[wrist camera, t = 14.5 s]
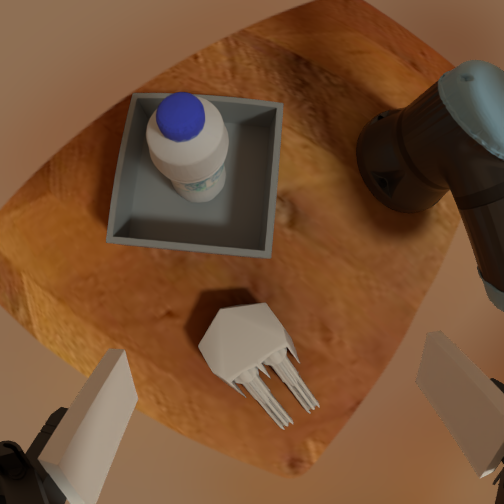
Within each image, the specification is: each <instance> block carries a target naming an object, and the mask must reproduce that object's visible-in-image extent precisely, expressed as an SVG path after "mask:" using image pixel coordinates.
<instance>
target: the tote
mask: <svg viewBox="0 0 504 504" xmlns="http://www.w3.org/2000/svg"><path fill="white" fill-rule="evenodd" d="M171 94H172V93H133V95H132V98H131V102H130V106H129V110H128V115H127V119H126V123H125V128H124V132H123V137H122V142H121V146H120V152H119V157H118V162H117V168H116V173H115V179H114V185H113V192H112V198H111V205H110V213H109V221H108V229H107V238H106V243H113V244H120V245H128V246H138V247H148V248H159V249H169V250H179V251H189V252H200V253H210V254H221V255H231V256H242V257H252V258H271V252H272V241H273V230H274V218H275V206H276V194H277V182H278V170H279V157H280V144H281V131H282V117H283V103H278V102H270V101H263V100H254V99H245V98H236V97H225V96H212V95H196V94H193V95H194V96H197V97H201V98H203V99H206V100H208V101H209V102H211V103H212V104H213V105H214V106H215V107H216V108H217V109H218V111H219V112H220V114H221V116H222V119H223V122H224V125H225V127H226V129H227V132H228V138H229V145H228V150H227V155H226V158H225V161H224V166H225V172H226V178H225V184H224V186H223V188H222V190H221V191H220V192H219V194H218V195H217V196H216V197H215V198H213V199H212V200H210V201H208V202H201V203H192V202H189V201H187V200H185V199H184V198H182V197H181V196H180V195H179V194H178V193H177V192H176V190H175V188H174V187H173V184H172V182H171V180H170V179H169V178H167V177H166V176H165V175H164V174H162V173H161V172H160V171H159V170H158V169H157V167H156V166H155V165H154V163H153V161H152V159H151V156H150V152H149V146H148V143H147V138H146V131H147V125H148V122H149V120H150V118H151V116H152V114H153V113H154V112H155V110H156V109H157V108H158V106H159V105H160V103H161V102H162V100H163V99H165V98H166V97H167V96H169V95H171Z"/></svg>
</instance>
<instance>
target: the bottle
mask: <svg viewBox="0 0 504 504" xmlns="http://www.w3.org/2000/svg"><path fill="white" fill-rule="evenodd" d="M146 138H147V143H148V146H149V152H150V156H151V159H152V161H153V163H154V165H155V166H156V167H157V169H158V170H159V171H160V172H161V173H162V174H164V175H165V176H166V177H167V178H169V179H170V180H171V182H172V184H173V187H174V188H175V190H176V192H177V193H178V194H179V195H180V196H181V197H182V198H184V199H185V200H187V201H189V202H192V203H201V202H208V201H210V200H212V199H213V198H215V197H216V196H217V195H218V194H219V192H220V191H221V190H222V188H223V186H224V184H225V178H226V172H225V166H224V161H225V158H226V155H227V150H228V145H229V138H228V132H227V129H226V127H225V125H224V122H223V119H222V116H221V114H220V112H219V111H218V109H217V108H216V107H215V106H214V105H213V104H212V103H211V102H209V101H208V100H206V99H203V98H201V97H197V96H194V95H193V94H190V93H186V92H178V93H174V94H171V95H169V96H167V97H166V98H165V99H163V100H162V102H161V103H160V105H159V106H158V108H157V109H156V110H155V112H154V113H153V114H152V116H151V118H150V120H149V122H148V125H147V131H146Z"/></svg>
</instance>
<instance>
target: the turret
mask: <svg viewBox="0 0 504 504" xmlns="http://www.w3.org/2000/svg"><path fill="white" fill-rule="evenodd" d="M198 347H199V349H200V351H201V353H202V355H203V356H204V358H205V360H206V362H207V363H208V365H209V367H210V369H211V371H212V372H213V373H214V374H215V375H216V376H218V377H219V378H220V379H221V380H222V381H224V382H225V383H226V384H228V385H229V386H230V387H232V388H233V389H235V390H236V391H237V392H239V393H240V394H242V395H243V396H244V397H246V396H245V395H244V394H243V393H242V391H241V390H240V389H239V387H238V386H237V385H236V384H235V382H236V383H240V384H243V385H244V387H245V388H246V389H247V390H248V392H249V393H250V394H251V395H252V396H253V398H254V399H255V400H257V401H258V402H259V403H260V405H261V406H262V407H263V408H264V409H265V411H266V412H267V413H268V414H269V415H270V416H271V418H272V419H273V420H274V421H275V422H276V423H277V425H278V426H279V427H280V428H282V429H283V430H284V428H283V426H284V425H285V426H288V423H289V422H291V423H292V424H293V421H292V419H291V417H290V416H289V415H288V414H287V412H286V411H285V410H284V409H283V407H282V406H281V405H280V404H279V402H278V401H277V400H276V399H275V397H274V396H273V395H272V394H271V392H270V390H269V388H268V387H267V386H266V384H265V383H264V382H263V381H262V379H261V378H260V377H259V373H258V368H259V369H260V370H261V371H262V372H264V373H265V374H266V375H267V376H268V377H269V378H270V376H269V374H268V372H267V371H266V369H265V367H264V365H263V363H264V364H265V365H271V366H272V368H273V369H274V371H275V372H276V373H277V375H278V376H279V377H280V379H281V380H282V381H283V382H285V384H286V385H287V386H288V388H289V389H290V390H291V392H292V393H293V394H294V396H295V397H296V398H297V400H298V401H299V402H300V404H301V405H302V406H303V408H304V409H305V410H306V411H307V412H308V413H310V411H309V409H310V408H311V409H313V410H314V409H315V407H314V406H315V405H317V406H318V407H320V406H319V403H318V401H317V400H316V399H315V397H314V396H313V394H312V393H311V392H310V390H309V389H308V387H307V386H306V385H305V383H304V382H303V380H302V379H301V377H300V376H299V375H298V372H297V370H296V369H295V367H294V366H293V365H292V363H291V362H290V360H289V359H288V357H287V356H286V353H287V348H286V347H288V349H289V350H290V351H291V353H292V354H293V355H294V357H295V358H296V359H297V361H298V362H299V359H298V356H297V353H296V350H295V347H294V344H293V342H292V339H291V337H290V336H289V334H288V333H287V331H286V330H285V329H284V327H283V326H282V324H281V323H280V322H279V320H278V319H277V318H276V316H275V315H274V314H273V312H272V311H271V309H270V308H269V307H268V305H267V304H266V303H256V304H243V305H236V306H230V307H225V308H220V309H219V311H218V312H217V314H216V316H215V317H214V319H213V321H212V322H211V324H210V326H209V328H208V329H207V331H206V333H205V335H204V337H203V338H202V340H201V342H200V344H199V345H198ZM262 362H263V363H262ZM299 363H300V362H299ZM270 379H271V378H270ZM233 380H234V381H235V382H234V381H233ZM307 395H308V396H309V397H308V396H307ZM305 402H306V403H305ZM266 404H267V405H266ZM314 404H315V405H314ZM276 407H277V408H276ZM280 421H281V422H282V423H281V422H280ZM283 424H284V425H283Z"/></svg>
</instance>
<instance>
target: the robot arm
mask: <svg viewBox="0 0 504 504" xmlns="http://www.w3.org/2000/svg"><path fill="white" fill-rule="evenodd" d="M357 162H358V167H359V170H360V173H361V176H362V178H363V180H364V182H365V184H366V185H367V187H368V188H369V190H370V191H371V192H372V194H373V195H374V196H375V197H376V198H377V199H378V200H379V201H380V202H382V203H383V204H384V205H386V206H387V207H389V208H391V209H393V210H396V211H399V212H404V213H413V212H418V211H422V210H426V209H428V208H430V207H432V206H434V205H435V204H436V203H437V202H438V201H439V200H440V199H441V198H442V197H443V196H444V195H445V194H446V193H447V192H448V191H449V190H451V192H452V195H453V197H454V200H455V202H456V204H457V207H458V210H459V213H460V215H461V218H462V220H463V223H464V226H465V229H466V231H467V234H468V237H469V240H470V243H471V246H472V249H473V252H474V255H475V258H476V262H477V265H478V266H477V269H478V273H479V276H480V278H481V279H482V281H483V283H484V286H485V290H486V293H487V296H488V298H489V299H490V301H491V302H492V303H493V304H494V305H495V306H496V307H497V308H498V309H500V310H501V311H503V312H504V71H503V70H501V69H500V68H498V67H497V66H495V65H493V64H491V63H488V62H485V61H481V60H470V61H466V62H464V63H462V64H460V65H459V66H457V67H456V68H454V69H453V70H452V71H448V72H446V73H444V74H443V76H441V77H440V79H439V80H438V81H437V82H436V83H435V84H433V85H432V86H431V87H430V88H429V89H427V90H426V91H425V92H424V93H423V94H421V95H420V96H419V97H418V98H417V99H415V100H414V101H413V102H412V103H411V104H410V105H408V106H407V107H405V108H399V109H394V110H389V111H385V112H382V113H380V114H378V115H377V116H375V117H374V118H373V119H372V120H371V121H370V122H369V123H368V124H367V125H366V126H365V127H364V128H363V130H362V131H361V133H360V136H359V139H358V143H357ZM416 383H417V385H418V386H419V388H420V389H421V391H422V392H423V393H424V394H425V396H426V398H427V399H428V400H429V402H430V403H431V405H432V406H433V408H434V409H435V411H436V412H437V414H438V415H439V417H440V418H441V419H442V421H443V423H444V424H445V426H446V427H447V429H448V430H449V432H450V433H451V435H452V436H453V438H454V439H455V441H456V442H457V444H458V445H459V447H460V448H461V450H462V452H463V453H464V455H465V456H466V458H467V459H468V461H469V463H470V464H471V466H472V467H473V469H474V470H475V472H476V474H477V475H478V477H479V478H482V477H484V476H486V475H488V474H490V473H492V472H494V471H495V469H496V468H497V467H498V465H499V464H500V462H501V461H502V462H503V464H504V384H503V383H501V382H499V381H497V380H496V379H494V378H491V379H489V378H488V377H487V376H486V375H485V374H484V373H483V372H482V371H481V370H480V369H479V368H478V367H477V366H476V365H475V364H474V363H473V362H472V361H471V360H470V359H469V358H468V357H467V356H466V355H465V354H464V353H463V352H462V351H461V350H460V349H459V348H458V347H457V346H456V345H455V344H454V343H453V342H452V341H451V340H450V339H449V338H448V337H447V336H446V335H445V334H444V333H443V332H441V331H437V332H430V333H427V337H426V342H425V346H424V350H423V354H422V359H421V363H420V367H419V370H418V375H417V378H416ZM137 400H138V397H137V393H136V390H135V386H134V383H133V379H132V376H131V372H130V368H129V364H128V360H127V356H126V352H125V350H124V349H108V351H107V352H106V354H105V355H104V357H103V358H102V359H101V361H100V362H99V364H98V365H97V367H96V368H95V370H94V371H93V373H92V374H91V376H90V377H89V379H88V380H87V382H86V383H85V385H84V386H83V387H82V389H81V391H80V392H79V394H78V395H77V397H76V398H75V400H74V401H73V403H72V404H71V406H70V407H69V408H63V407H60V408H59V409H58V410H56V411H55V412H54V413H52V414H51V416H50V417H49V418H48V420H47V422H46V423H45V425H44V426H43V427H42V429H41V432H40V433H38V435H37V437H36V438H35V440H34V441H33V443H32V444H31V446H30V447H29V449H28V450H27V452H26V454H25V453H24V452H23V450H22V449H21V447H20V446H19V445H18V444H17V443H16V442H12V441H2V442H0V504H65V501H66V499H67V500H68V501H69V502H70V503H71V504H96V503H97V500H98V497H99V495H100V492H101V489H102V487H103V484H104V482H105V479H106V476H107V474H108V471H109V469H110V466H111V464H112V461H113V458H114V456H115V454H116V451H117V448H118V446H119V443H120V441H121V438H122V436H123V434H124V431H125V429H126V427H127V424H128V422H129V419H130V417H131V415H132V412H133V410H134V407H135V405H136V403H137ZM499 479H500V482H499V484H498V485H499V487H498V492H497V497H496V501H495V504H504V467H503V469H502V471H501V472H500V473H499V475H498V476H497V477H496V479H495V480H494V482H493V485H495V484H496V482H497V481H498V480H499Z"/></svg>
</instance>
